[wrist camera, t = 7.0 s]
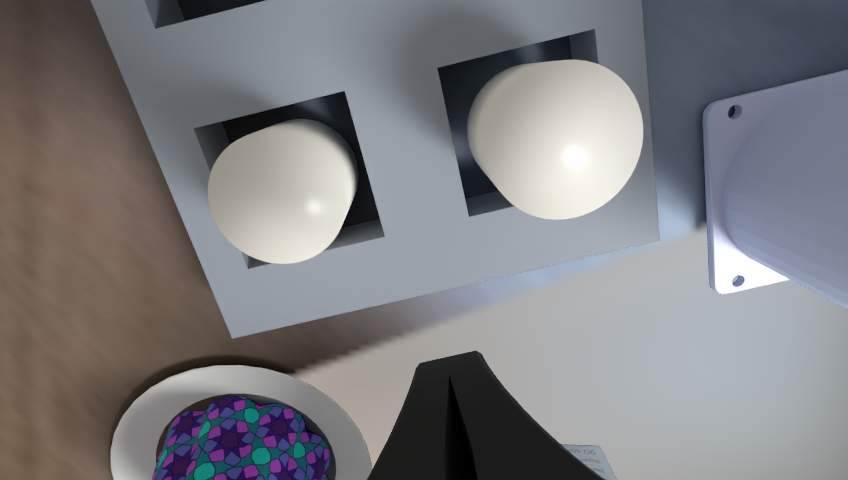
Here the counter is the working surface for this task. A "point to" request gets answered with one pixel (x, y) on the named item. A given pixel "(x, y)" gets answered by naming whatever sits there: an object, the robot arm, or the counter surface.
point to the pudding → (238, 430)
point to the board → (369, 138)
